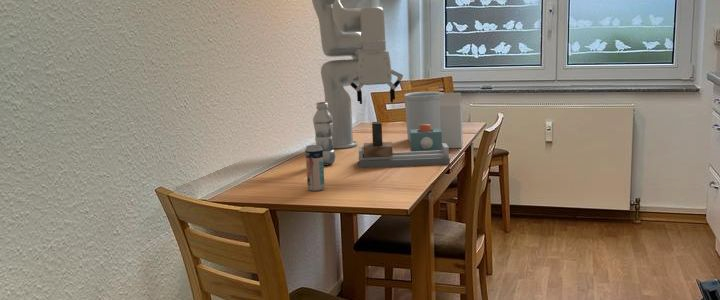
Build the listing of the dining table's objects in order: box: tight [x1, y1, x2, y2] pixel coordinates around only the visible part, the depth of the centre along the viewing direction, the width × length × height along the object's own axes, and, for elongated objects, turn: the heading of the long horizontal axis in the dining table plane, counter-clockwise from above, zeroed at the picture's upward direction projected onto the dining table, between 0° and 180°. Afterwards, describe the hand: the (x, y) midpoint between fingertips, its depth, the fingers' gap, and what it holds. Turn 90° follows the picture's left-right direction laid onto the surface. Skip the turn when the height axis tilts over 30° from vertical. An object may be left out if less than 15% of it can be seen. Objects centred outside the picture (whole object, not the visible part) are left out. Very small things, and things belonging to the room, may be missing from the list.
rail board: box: [358, 143, 451, 169], centre depth 225 cm, size 28×12×5 cm, turn 89°
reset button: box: [419, 124, 431, 132], centre depth 236 cm, size 4×4×5 cm
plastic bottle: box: [312, 101, 336, 166], centre depth 226 cm, size 6×7×20 cm
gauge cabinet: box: [409, 128, 442, 152], centre depth 237 cm, size 10×8×8 cm
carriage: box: [362, 121, 394, 157], centre depth 224 cm, size 9×9×10 cm
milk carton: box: [440, 92, 464, 149], centre depth 249 cm, size 7×7×19 cm
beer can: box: [304, 144, 326, 192], centre depth 191 cm, size 5×5×12 cm
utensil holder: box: [403, 91, 444, 142], centre depth 268 cm, size 15×15×18 cm
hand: (376, 102), depth 222 cm, fingers open, 9 cm apart
